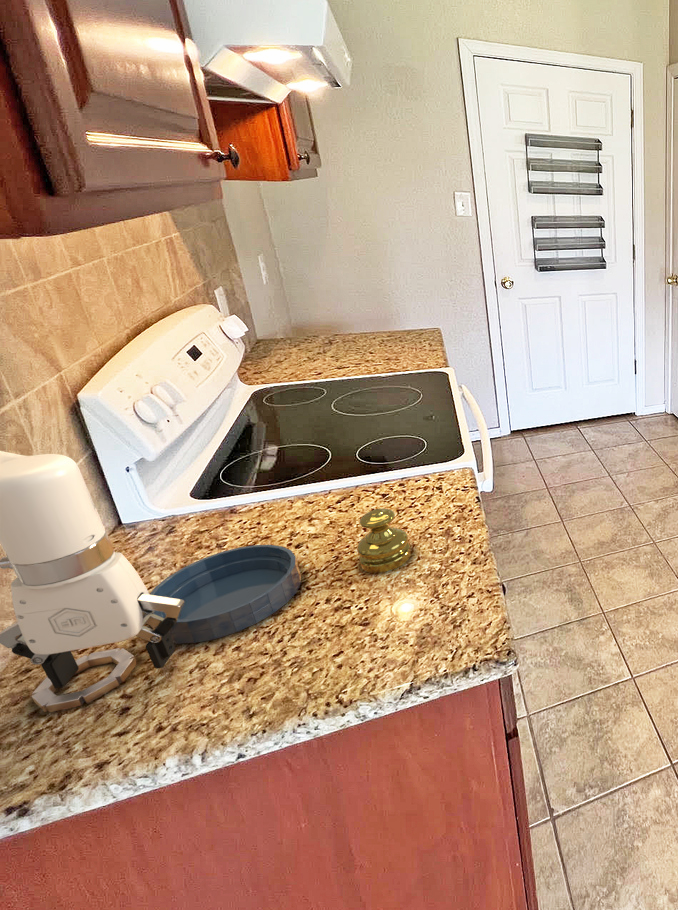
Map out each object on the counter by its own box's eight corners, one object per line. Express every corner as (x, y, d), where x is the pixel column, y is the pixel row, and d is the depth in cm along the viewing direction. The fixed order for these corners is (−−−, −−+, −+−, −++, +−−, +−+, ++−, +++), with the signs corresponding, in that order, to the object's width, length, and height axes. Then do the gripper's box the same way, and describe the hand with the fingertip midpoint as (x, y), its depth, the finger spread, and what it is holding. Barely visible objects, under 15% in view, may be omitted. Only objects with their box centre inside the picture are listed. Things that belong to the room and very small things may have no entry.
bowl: (127, 661, 75) (115, 634, 74) (189, 579, 91) (181, 556, 89) (281, 631, 81) (272, 606, 79) (316, 559, 96) (309, 536, 94)
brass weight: (372, 583, 91) (359, 530, 87) (354, 563, 95) (342, 512, 92) (419, 561, 96) (409, 511, 92) (401, 543, 101) (390, 494, 97)
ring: (20, 723, 67) (14, 712, 66) (69, 668, 74) (63, 657, 73) (112, 704, 69) (107, 693, 69) (150, 653, 77) (145, 642, 76)
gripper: (-66, 594, 60) (3, 712, 66) (141, 563, 66) (187, 675, 72) (-10, 552, 67) (48, 663, 73) (174, 527, 72) (214, 632, 78)
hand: (117, 669), depth 72 cm, fingers open, 9 cm apart
